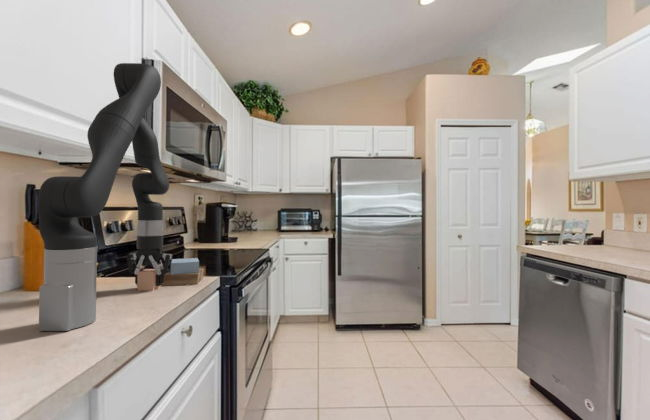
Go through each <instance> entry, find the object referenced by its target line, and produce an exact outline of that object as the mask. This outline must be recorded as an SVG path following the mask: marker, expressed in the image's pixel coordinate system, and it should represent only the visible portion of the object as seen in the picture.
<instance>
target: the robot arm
mask: <svg viewBox="0 0 650 420" xmlns="http://www.w3.org/2000/svg"><path fill="white" fill-rule="evenodd" d="M113 80H114V86H115V89H116V92H117V95H118V96H117V97H119V98H117V99H115V100H114V101H112V102H110V103H108V104H107V105H105V106H104V107H103V108H101V109H100V110H99V111H98V112H97V114H96V116H95V117H94V119H93V120H92V122H91V124H90V126H89V127H88V130H87V140H88V144H89V145H88V146H89V148H90V151H91V156H92V158H91V160H90V164H89V165H88V166H87V169H86V171H85V172H84V173H83V174H82V175H81V176H64V175H63V176H62V175H61V176H52V177H49V178H47V179H45V181H43V183H42V184H41V185H40V188H39V191H38V198H37V207H38V210H37V211H38V227H39V235H40V237H41V239H42V242H43V244H44V245H43V284H42V285H40V286H39V290H38V292H39V293H38V294H39V295H38V296H39V298H38V300H39V301H38V302H39V303H38V304H39V305H38V306H39V307H38V331H39V332H45V331H46V332H69V331H70V330H74V329H78V328H81V327H85V326H87V325H90V324H92V323H94V322H95V321H96V320H97V318H96V317H97V276H98V275H97V274H98V273H97V271H98V270H97V268H98V262H97V261H98V237H97V235H96V233H94V232H92V231H89V230H87V229H85V228H83V227H82V226H81V225H80V224H79V220H78V218H92V217H96V216H97V215H100V213H102V211H103V209H104V208H105V207H106V205H107V203H108V201H109V197H110V195H111V192H112V188H113V185H114V182H115V179H116V177H117V174H118V171H119V169H120V166H121V164H122V161H123V159H124V157H125V155H126V153H127V151H128V149H129V147H130V146H131V144H132V150H133V157H134V161H135V164H136V165H138V166H140V167H144V168H146V169H148V170H149V172H139V173H136V174H135V175H134V176H133V178H132V181H131V188H132V190H133V191H132V192H133V194H134V196H135V197H134V198H135V201H136V205H137V226H136V252H135V253H134V252H131V253H128V254H126V262H127V268H128V272H129V273H133V274H134V278H135V279H134V284H135V285H137V273H138V272H139V271H142V270H145V268H146V267H147V266H151V267H153V269H156V272H157V274H158V275H157V286H161V287H162V285H164V275H165V274H166V273H168V272H169V271H171V262H172V259H173V256H174V255H173V253H165V252H164V248H163V247H164V224H163V223H164V221H163V220H164V219H163V218H164V217H163V216H164V214H163V213H164V212H163V210H164V209H163V208H164V207H163V204H162V203H161V202H158V201H154V200H151V198H150V195H151V196H152V195H154V196H156V195H157V196H158V195H159V196H160V195H161V196H162V195H164V194H167V192H168V191H169V189H170V179H169V177H168V175H167V173H166V171H165V167H164V165H163V162H162V161H161V156H160V150H159V149H160V148H159V143H158V138H157V136H156V134H155V132H154V130H153V129H152V128H151V126H150V125H149V123H148V122H147V121H146V119H145V117H144V116H145V115H146V113H147V111H148V109H150V107H151V106H152V104H153V103H154V101H155V100H156V98H157V97H158V95H159V93H160V90H161V87H162V85H161V84H162V79H161V74H160V73H159V70H158V69H157V68H156V67H155V66H153V65H151V64H148V63H139V62H137V63H134V62H132V63H131V62H129V63H128V62H122V63H121V62H120V63H117V64H116V65H115V66H114V68H113ZM162 259H163V261H164V263H163V262H162ZM137 260H138V263H137Z"/></svg>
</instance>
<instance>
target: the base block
mask: <svg viewBox="0 0 650 420" xmlns="http://www.w3.org/2000/svg"><path fill="white" fill-rule="evenodd" d="M204 273H205V268H202V267H199V273H190V274H175V275H171V270H170V271H168V272H166V273H164V282H163V286H180V285H181V286H182V285H183V284H191V285H198V284H200V283H201V281H202V280H203V279H204V276H205V274H204ZM183 286H184V285H183Z"/></svg>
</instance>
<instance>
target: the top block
mask: <svg viewBox="0 0 650 420" xmlns="http://www.w3.org/2000/svg"><path fill="white" fill-rule="evenodd" d="M199 268H200V260H199V258H198V257H191V258H172V262H171V268H170V271H171V275H175V274H190V273H199Z"/></svg>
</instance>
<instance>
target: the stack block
mask: <svg viewBox="0 0 650 420" xmlns="http://www.w3.org/2000/svg"><path fill="white" fill-rule="evenodd" d="M157 275H158V274H157V272H156V269H154V268H144V269H143V270H142V271H139V272H138V273H137V284H136V287H137V288H136V290H145V292H152V291H153V290H154V291H156V290H158V289H160V288H161V287H162V285H161V286H157ZM159 287H160V288H159ZM157 288H158V289H157ZM155 289H156V290H155ZM146 290H147V291H146Z"/></svg>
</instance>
